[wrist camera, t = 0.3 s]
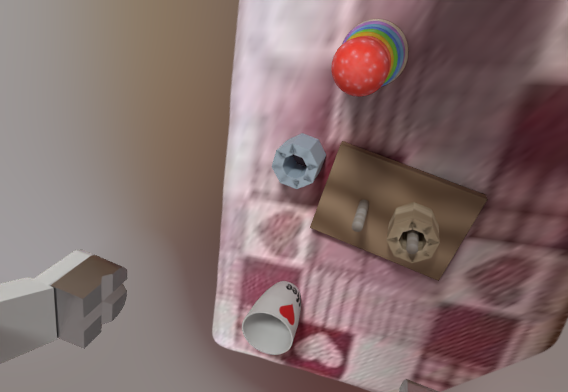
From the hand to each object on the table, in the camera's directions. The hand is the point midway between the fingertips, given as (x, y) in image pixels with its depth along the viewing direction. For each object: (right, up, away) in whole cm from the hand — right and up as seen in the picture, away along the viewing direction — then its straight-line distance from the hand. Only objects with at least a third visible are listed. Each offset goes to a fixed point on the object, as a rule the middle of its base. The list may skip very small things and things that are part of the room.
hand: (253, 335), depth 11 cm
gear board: (+16, +2, +47) cm, 50 cm away
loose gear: (+4, +10, +48) cm, 49 cm away
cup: (+1, -13, +59) cm, 61 cm away
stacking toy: (+12, +22, +40) cm, 47 cm away
